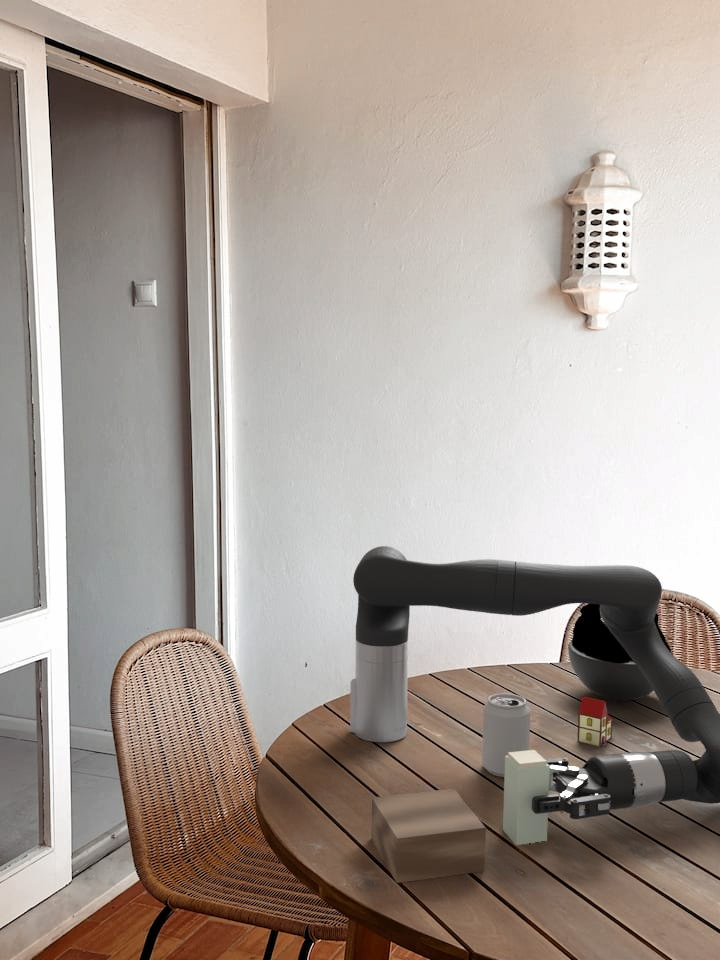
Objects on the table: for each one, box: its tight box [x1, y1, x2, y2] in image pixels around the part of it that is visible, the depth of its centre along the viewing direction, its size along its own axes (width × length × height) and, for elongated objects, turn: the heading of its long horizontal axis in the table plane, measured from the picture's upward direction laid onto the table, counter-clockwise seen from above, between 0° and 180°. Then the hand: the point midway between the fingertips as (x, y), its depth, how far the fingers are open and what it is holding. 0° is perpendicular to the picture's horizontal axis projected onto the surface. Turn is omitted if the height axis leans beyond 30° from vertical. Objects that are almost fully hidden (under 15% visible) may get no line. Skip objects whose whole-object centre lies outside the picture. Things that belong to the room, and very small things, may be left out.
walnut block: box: [370, 788, 487, 884], centre depth 133 cm, size 12×12×6 cm
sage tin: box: [502, 749, 550, 846], centre depth 138 cm, size 5×5×12 cm
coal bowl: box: [567, 603, 674, 702], centre depth 194 cm, size 20×20×19 cm
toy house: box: [577, 696, 613, 748], centre depth 174 cm, size 6×7×8 cm
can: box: [481, 693, 531, 778], centre depth 160 cm, size 8×8×12 cm
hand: (520, 792), depth 138 cm, fingers open, 8 cm apart
